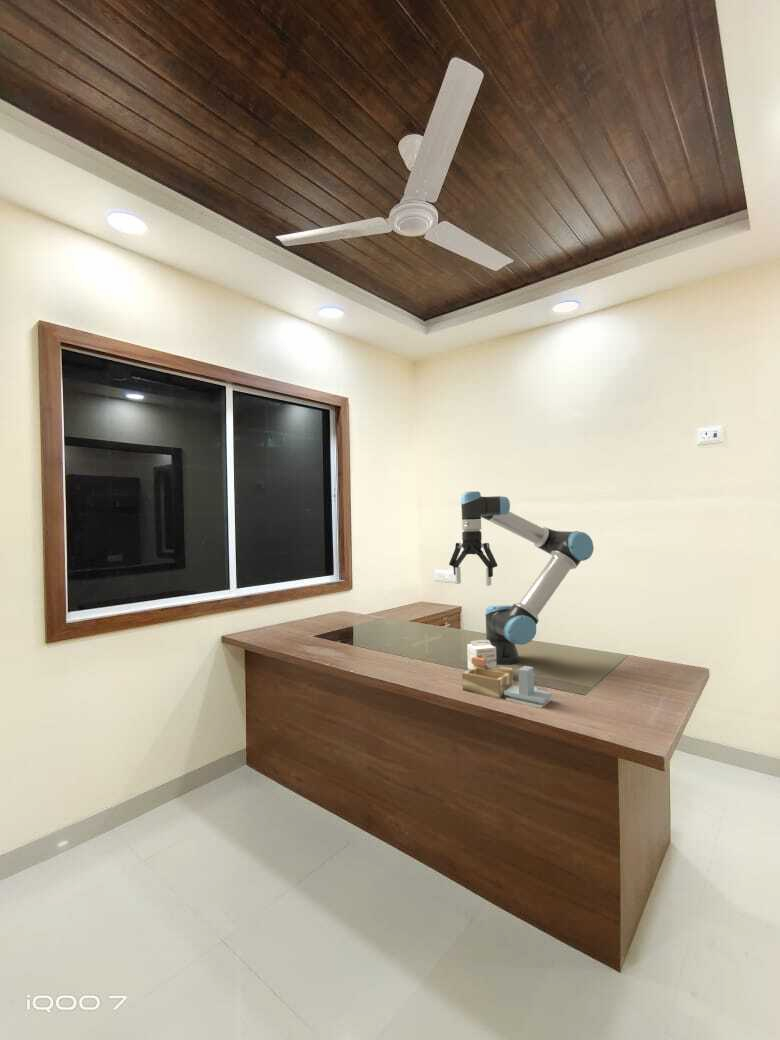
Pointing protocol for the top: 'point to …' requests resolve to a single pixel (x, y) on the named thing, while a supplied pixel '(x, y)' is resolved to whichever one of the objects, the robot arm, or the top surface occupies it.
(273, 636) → the top surface
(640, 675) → the top surface
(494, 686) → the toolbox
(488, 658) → the ink box
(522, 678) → the lid
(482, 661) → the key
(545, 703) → the mat
